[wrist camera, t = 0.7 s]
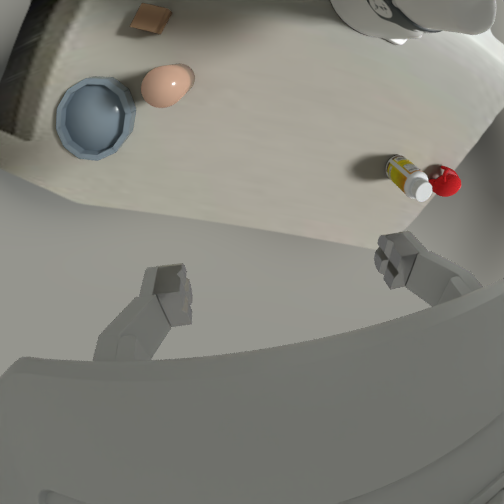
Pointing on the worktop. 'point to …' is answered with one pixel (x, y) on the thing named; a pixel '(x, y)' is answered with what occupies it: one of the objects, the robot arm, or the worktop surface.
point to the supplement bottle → (409, 178)
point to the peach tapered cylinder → (167, 84)
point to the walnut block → (151, 18)
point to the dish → (95, 117)
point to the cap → (446, 183)
